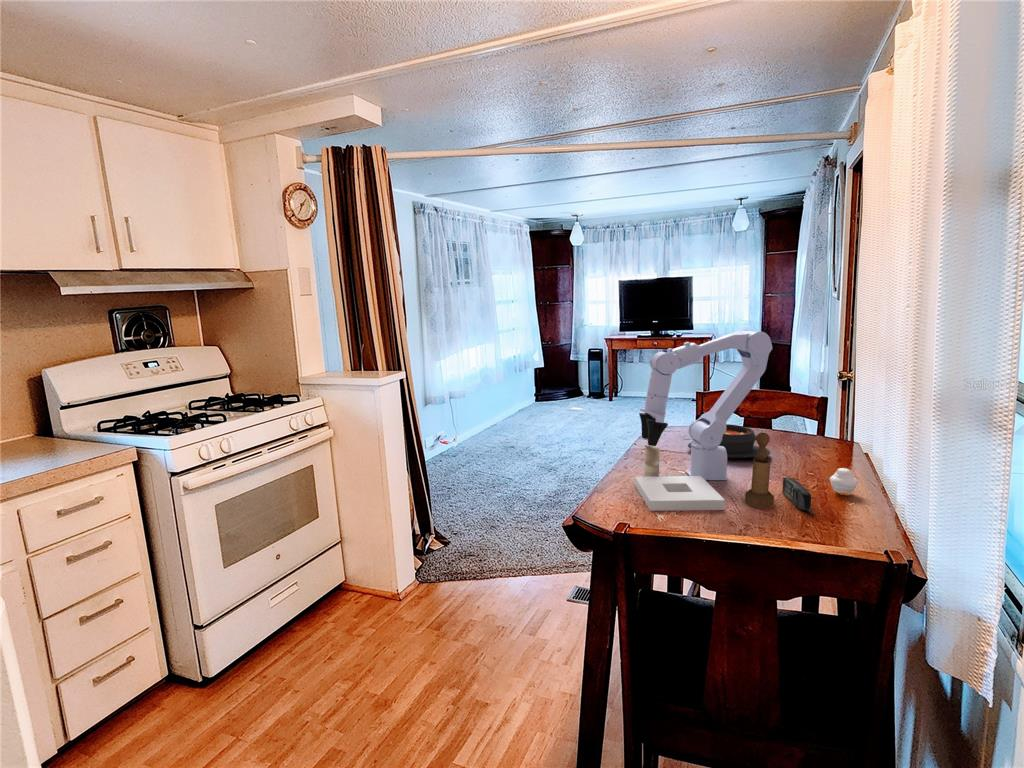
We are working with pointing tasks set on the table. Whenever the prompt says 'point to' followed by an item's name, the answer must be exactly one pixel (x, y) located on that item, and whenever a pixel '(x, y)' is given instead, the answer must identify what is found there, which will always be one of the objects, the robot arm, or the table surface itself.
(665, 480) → the socket
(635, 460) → the table surface
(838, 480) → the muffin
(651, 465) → the peg
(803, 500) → the dark grey oblong block
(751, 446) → the casserole
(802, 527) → the table surface
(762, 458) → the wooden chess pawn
